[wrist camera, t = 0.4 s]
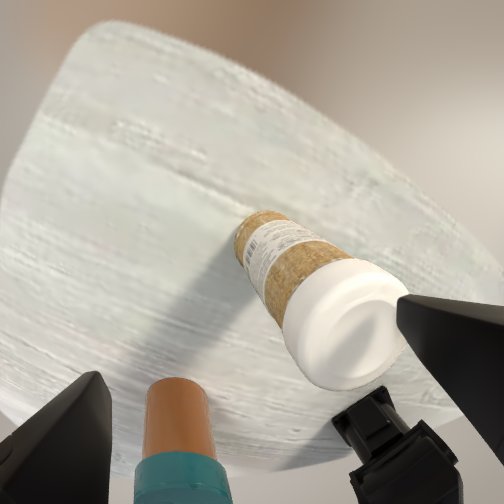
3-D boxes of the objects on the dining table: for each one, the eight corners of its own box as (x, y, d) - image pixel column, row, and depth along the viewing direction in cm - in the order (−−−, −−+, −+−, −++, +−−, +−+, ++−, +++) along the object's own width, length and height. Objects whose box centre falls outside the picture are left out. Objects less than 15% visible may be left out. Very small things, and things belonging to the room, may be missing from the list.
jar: (219, 405, 26) (241, 506, 16) (171, 429, 25) (177, 527, 15) (182, 367, 24) (191, 475, 14) (133, 394, 24) (122, 498, 14)
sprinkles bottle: (282, 280, 24) (379, 399, 11) (222, 262, 22) (275, 389, 10) (306, 221, 23) (437, 294, 10) (246, 199, 21) (339, 256, 9)
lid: (243, 479, 18) (252, 511, 15) (175, 505, 18) (178, 535, 15) (189, 438, 16) (193, 476, 13) (116, 468, 16) (112, 502, 13)
